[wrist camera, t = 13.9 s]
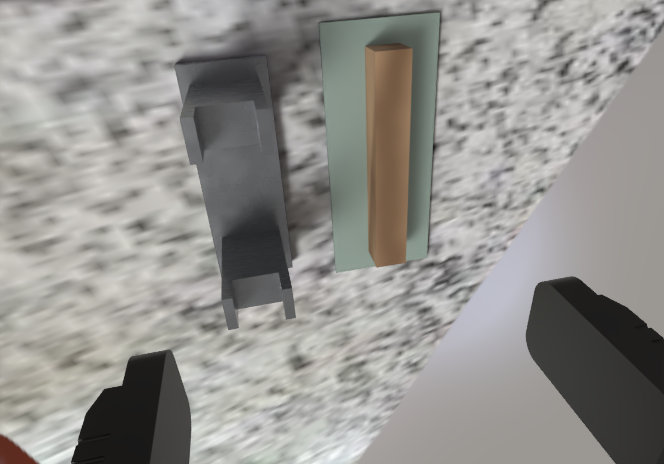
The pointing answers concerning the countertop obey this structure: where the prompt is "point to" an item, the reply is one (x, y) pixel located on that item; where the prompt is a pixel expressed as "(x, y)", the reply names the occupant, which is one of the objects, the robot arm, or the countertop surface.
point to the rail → (388, 149)
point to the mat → (350, 127)
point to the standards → (239, 178)
